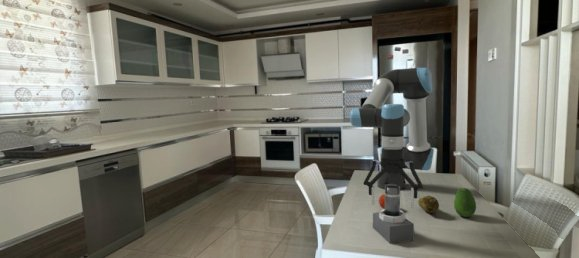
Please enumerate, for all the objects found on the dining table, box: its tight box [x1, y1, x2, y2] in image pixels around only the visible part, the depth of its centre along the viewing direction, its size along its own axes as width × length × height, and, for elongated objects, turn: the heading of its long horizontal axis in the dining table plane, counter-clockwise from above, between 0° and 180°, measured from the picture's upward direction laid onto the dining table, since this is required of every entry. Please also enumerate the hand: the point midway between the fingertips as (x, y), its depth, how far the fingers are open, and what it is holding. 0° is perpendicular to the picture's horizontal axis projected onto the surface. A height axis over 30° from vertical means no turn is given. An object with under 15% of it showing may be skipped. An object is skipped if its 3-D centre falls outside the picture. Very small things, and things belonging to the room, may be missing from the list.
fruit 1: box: [378, 193, 385, 209], centre depth 140 cm, size 7×7×8 cm
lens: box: [384, 184, 401, 217], centre depth 114 cm, size 5×5×12 cm
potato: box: [418, 195, 440, 213], centre depth 135 cm, size 8×13×8 cm, turn 155°
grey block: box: [372, 208, 415, 244], centre depth 115 cm, size 13×9×8 cm
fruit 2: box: [453, 187, 477, 218], centre depth 128 cm, size 8×8×12 cm
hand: (392, 205), depth 115 cm, fingers open, 13 cm apart
